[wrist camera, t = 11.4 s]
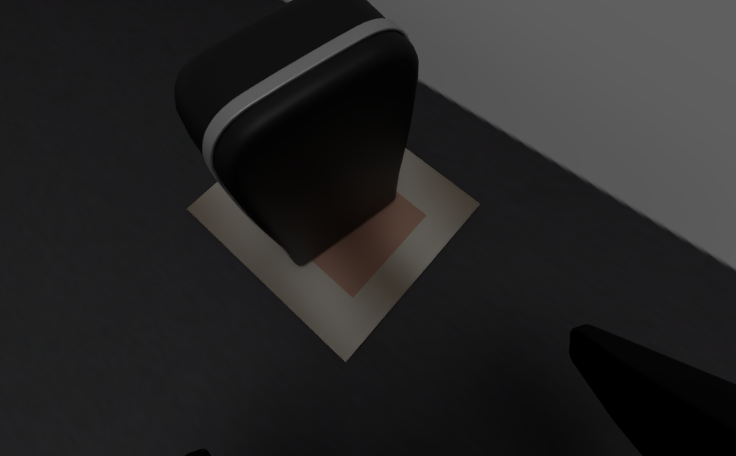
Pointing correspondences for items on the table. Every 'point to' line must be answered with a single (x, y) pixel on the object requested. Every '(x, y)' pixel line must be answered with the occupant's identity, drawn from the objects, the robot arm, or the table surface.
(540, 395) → the table surface
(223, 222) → the card
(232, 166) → the battery charger
